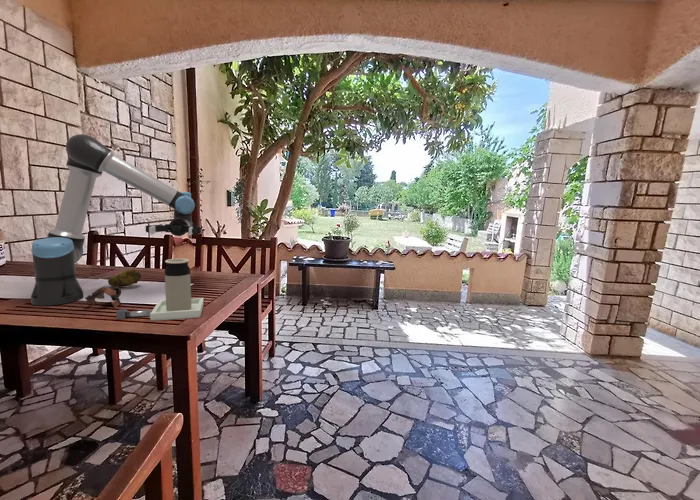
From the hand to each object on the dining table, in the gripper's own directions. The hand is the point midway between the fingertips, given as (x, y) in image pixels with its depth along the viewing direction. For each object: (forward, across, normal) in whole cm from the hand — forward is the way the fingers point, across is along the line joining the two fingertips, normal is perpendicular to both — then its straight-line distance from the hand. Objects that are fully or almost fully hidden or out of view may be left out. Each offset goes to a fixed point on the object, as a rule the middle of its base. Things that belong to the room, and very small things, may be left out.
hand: (170, 231), depth 128 cm
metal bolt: (+18, +8, -28) cm, 34 cm away
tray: (+16, -5, -27) cm, 32 cm away
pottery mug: (+2, +21, -28) cm, 35 cm away
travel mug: (+16, -5, -27) cm, 31 cm away
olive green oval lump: (-25, +22, -28) cm, 44 cm away
